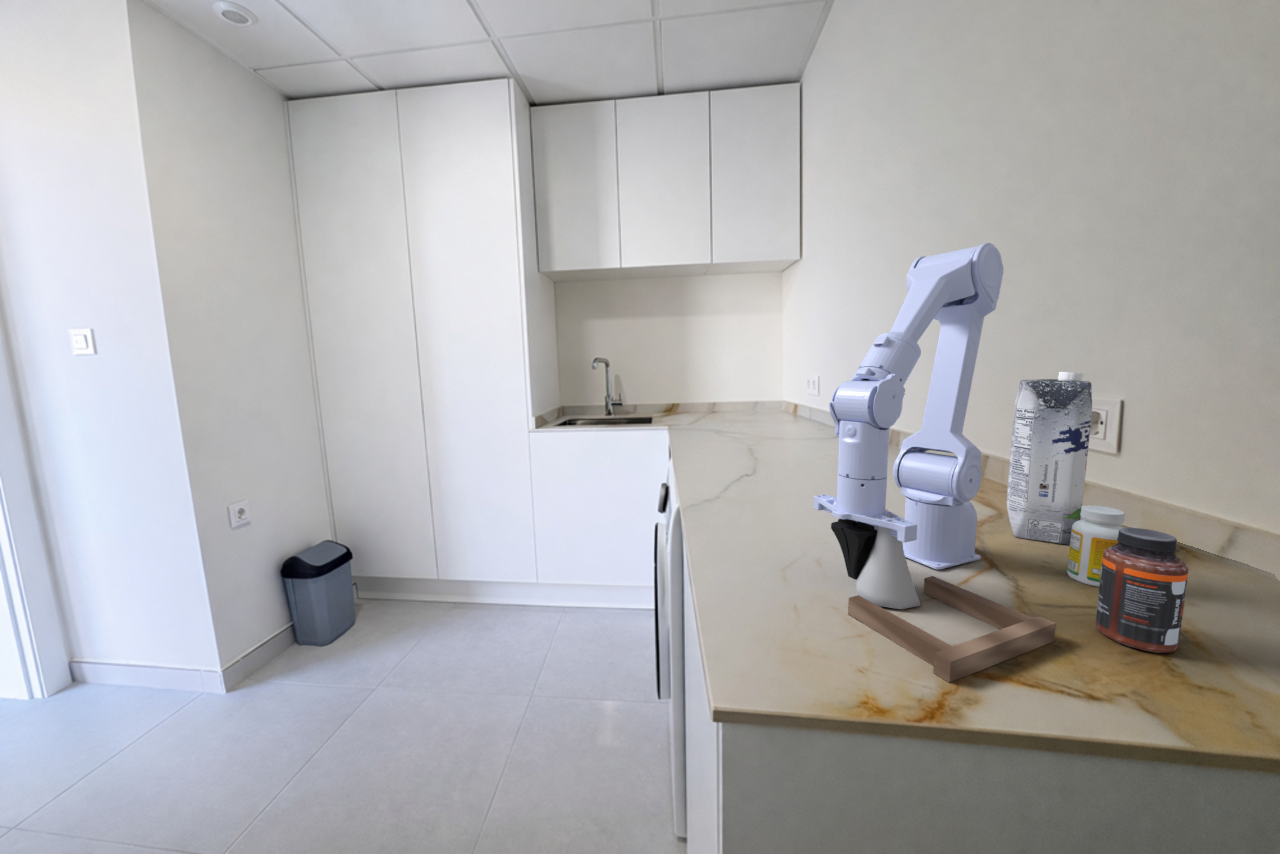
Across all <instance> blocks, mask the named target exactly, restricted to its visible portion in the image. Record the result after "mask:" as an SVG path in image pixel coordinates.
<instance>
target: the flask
mask: <svg viewBox="0 0 1280 854" xmlns="http://www.w3.org/2000/svg"><path fill="white" fill-rule="evenodd" d="M886 517H889V518H892V517H893V515H886ZM876 519H879V518H878V517H877V518H876ZM879 520H881V519H879ZM902 522H904V521H902ZM893 523H895V522H893ZM890 531H892V529H889V528H885V527H880V526H878V530H877V534H876V538H875V542H874V545H873V548H872V550H871V552H870V554H869V556H868V558H867V560H866V563H865V565H864V567H863V568H862V570H861V572H860V574H859V576H858V578H857V580H856V581H855V582H854V590H855V595H856V596H858V595H859V596H861V597H863V598H864V599H866V600H868V601H870V602H872V603H874V604H876V605H877V606H879V607H881V608H882V607H884V608H890V609H898V610H905V609H909V608H914V607H919V606H920V607H921V603H920V599H919V596H918V593H917V590H916V587H915V584H914V581H913V578H912V575H911V573H910V570H909V566H908V562H907V558H906V557H905V555H904V551H903V542H901V541H899V540H897V537H894V536H892V535H890V534H892V533H890Z"/></svg>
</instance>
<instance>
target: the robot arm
mask: <svg viewBox="0 0 1280 854" xmlns="http://www.w3.org/2000/svg"><path fill="white" fill-rule="evenodd" d="M1002 261H1003V260H1002V256H1001V252H1000V251H999V249H998V248H997V247H996V245H994V244H993V243H991V242H985V243H981V244H980V245H976V246H971V247H968V248H962V249H958V250H954V251H947V252H943V253H938V254H934V255H933V254H932V255H928V256H926V255H923V256H919V257H917V258H915V259H914V260H913V261H912V263H911V266H910V267H909V270H908V272H907V273H906V278H905V279H906V281H905V282H906V288H907V294H906V296H905V299H904V301H903V303H902V305H901V307H900V310H899V312H898V313H897V316H896V318H895V320H894V322H893V324H892V326H891V329H890V330H889V332H884V333H881V334H879V335H878V336H877V337H875V339H874V341H873V343H872V344H871V346H870V348H869V350H868V351H867V352H866V355H865V356H864V358H863V359H862V361H861V363H860V364H859V366H858V368H857V369H856V371H855V372H854V374H853V376H852V377H851V380H846V381H845V382H842V384H840V385H839V386H837V388H836V389H835V390H834V392H833V394H832V395H831V396H832V398H831V402H829V403H828V407H829V413H830V416H831V418H832V420H833V423H834V434H835V436H836V437H837V438H838V455H837V476H836V477H837V480H836V481H837V483H836V496H834V495H833V496H832V495H828V494H825V493H824V494H816V495H814V496H813V509H814V510H816V511H824V512H828V513H830V514H831V516H833V517H835V518H838V519H837V521H833V522H831V523H830V529H831V530H832V532H833V534H834V536H835V538H836V540H837V541H838V544H839V547H840V549H841V553H842V555H843V559H844V563H845V569H846V573H847V577H849V578H851V579H853V580H857V578H858V576H859V574H860V572H861V570H862V568H863V567H864V565H865V563H866V560H867V558H868V556H869V554H870V552H871V550H872V548H873V545H874V542H875V538H876V534H877V530H878V526H880V527H885V528H889V529H892V531H890V533H892V534H890V535H892V536H894V537H897V540H899V541H901V542H902V544H903V551H904V555H905V558H906V559H910V560H911V561H914V562H916V563H919V564H920V565H921V564H922V565H924V566H927V567H929V568H931V569H933V570H943V569H947V568H951V567H954V566H958V565H962V564H967V563H972V562H975V561H980V560H981V559H982V558H981V557H982V556H981V555H979V554H977V553H976V551H975V550H976V541H977V540H976V539H977V538H976V537H977V527H978V513H977V511H976V508H975V506H974V505H973V503H972V502H971V501H972V499H974V497H976V496H977V494H978V492H979V490H980V488H981V484H982V479H983V477H982V476H983V474H982V468H981V464H982V451H981V450H980V449H979V448H978V446H976V445H975V444H974V443H973V442H972V441H971V440H969V439H968V438H967V437H966V436H965V435H964V434H963V431H964V425H965V420H966V415H967V410H968V406H969V405H968V404H969V398H970V396H971V395H970V393H971V389H972V384H973V378H974V373H975V368H976V362H977V359H978V358H977V357H978V353H979V346H980V341H981V336H982V331H983V325H984V322H985V321H984V320H985V317H986V316H987V315H989V314H991V313H992V312H994V311H995V310H996V308H997V303H998V300H999V298H1000V292H1001V287H1002V282H1003V277H1004V276H1003V275H1004V264H1003V262H1002ZM933 320H936V321H938V323H939V324H940V328H939V329H940V330H939V334H938V335H939V336H938V341H937V346H936V350H935V351H936V352H935V354H934V355H935V356H934V361H933V366H932V370H931V371H932V372H931V376H930V377H931V378H930V381H929V382H930V383H929V388H928V392H927V393H928V394H927V398H926V404H925V409H924V412H923V413H924V414H923V420H922V423H921V429H919V430H918V431H917V432H915V433H913V434H911V435H909V436H908V437H906V438H905V439H903V440H902V444H901V447H900V451H899V453H898V455H897V457H896V459H895V460H894V464H893V467H892V477H893V480H894V483H895V484H896V486H897V487H898V488H899V489H900V495H902V496H905V499H904V503H905V505H904V518H903V517H901V516H899V515H898V514H896V513H894V512H892V511H890V510H888V509H886V508H887V507H886V505H887V503H886V502H887V488H888V487H887V486H888V483H887V482H888V466H889V465H888V464H889V449H890V448H889V445H890V428H892V426H894V425H895V424H896V422H897V421H898V419H900V416H901V414H902V411H903V404H904V403H903V400H904V397H905V395H906V388H905V384H906V383H907V380H908V378H909V377H910V375H911V373H912V371H913V370H914V368H915V366H917V365H916V364H917V362H918V361H919V359H920V357H921V355H922V351H921V347H920V345H919V344H918V342H919V340H920V339H921V338H922V336H923V335H924V333H925V332H926V330H927V329H928V328H929V326H930V325H931V324H932V322H933ZM928 451H935V452H941V453H948V454H947V455H946V454H941V453H934V452H928ZM949 453H950V454H954V455H949ZM886 515H893V517H892V518H889V517H886ZM877 517H878V518H879V519H881V520H879V519H876V518H877ZM902 521H904V522H902ZM893 522H895V523H893Z"/></svg>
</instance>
